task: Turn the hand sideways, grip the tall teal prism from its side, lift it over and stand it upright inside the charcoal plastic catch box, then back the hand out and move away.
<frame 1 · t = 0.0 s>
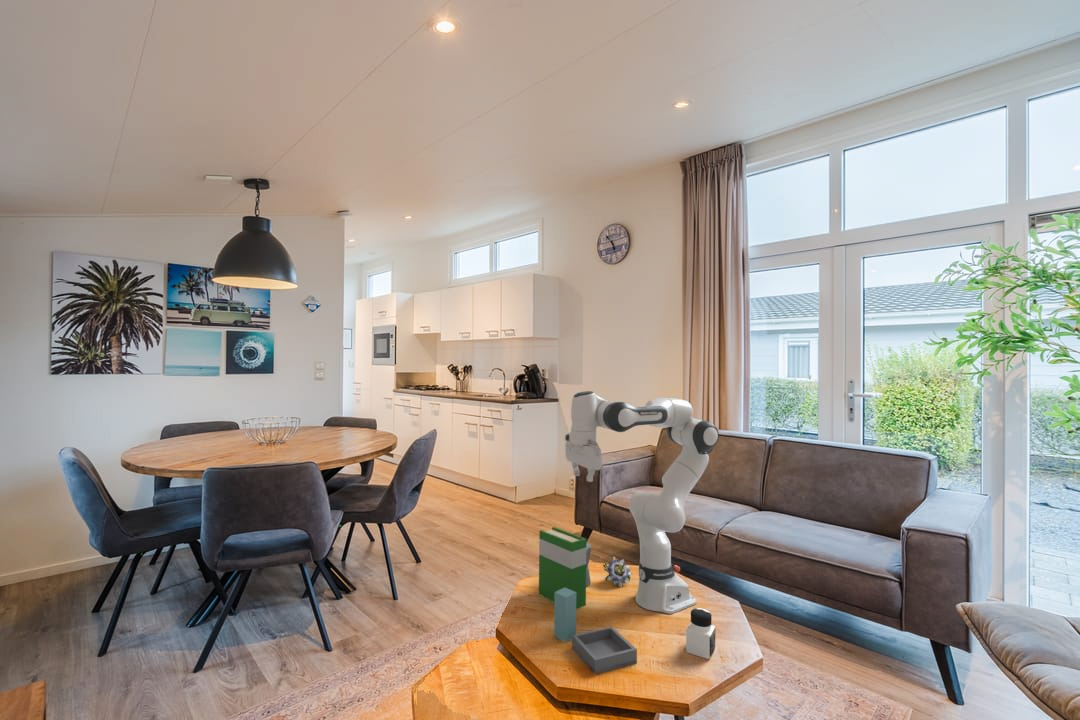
hand: (583, 478, 170), 48 cm above the table, tool pointing down, fingers open, 8 cm apart
passion flower: (616, 583, 198), on the table
catch box: (603, 655, 147), on the table
medicine bottle: (700, 651, 150), on the table
coffeepot: (578, 582, 198), on the table
hardback book: (561, 600, 183), on the table
tall teal prism: (565, 636, 158), on the table
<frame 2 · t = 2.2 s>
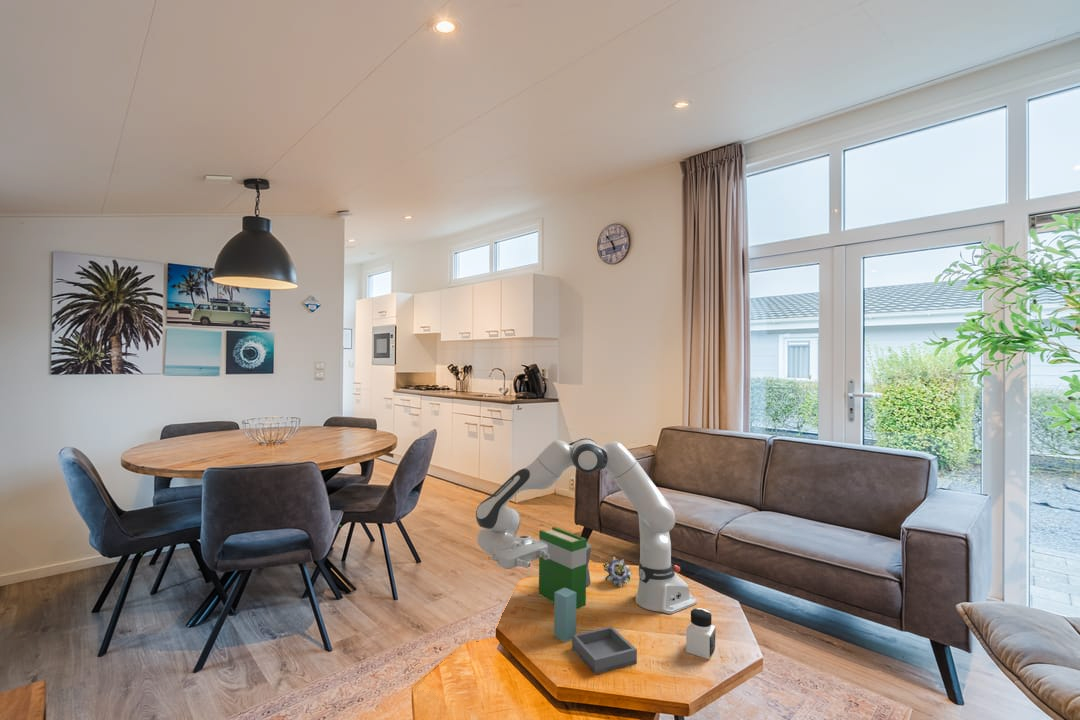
hand: (538, 561, 166), 21 cm above the table, tool horizontal, fingers open, 8 cm apart
nothing on the table moved.
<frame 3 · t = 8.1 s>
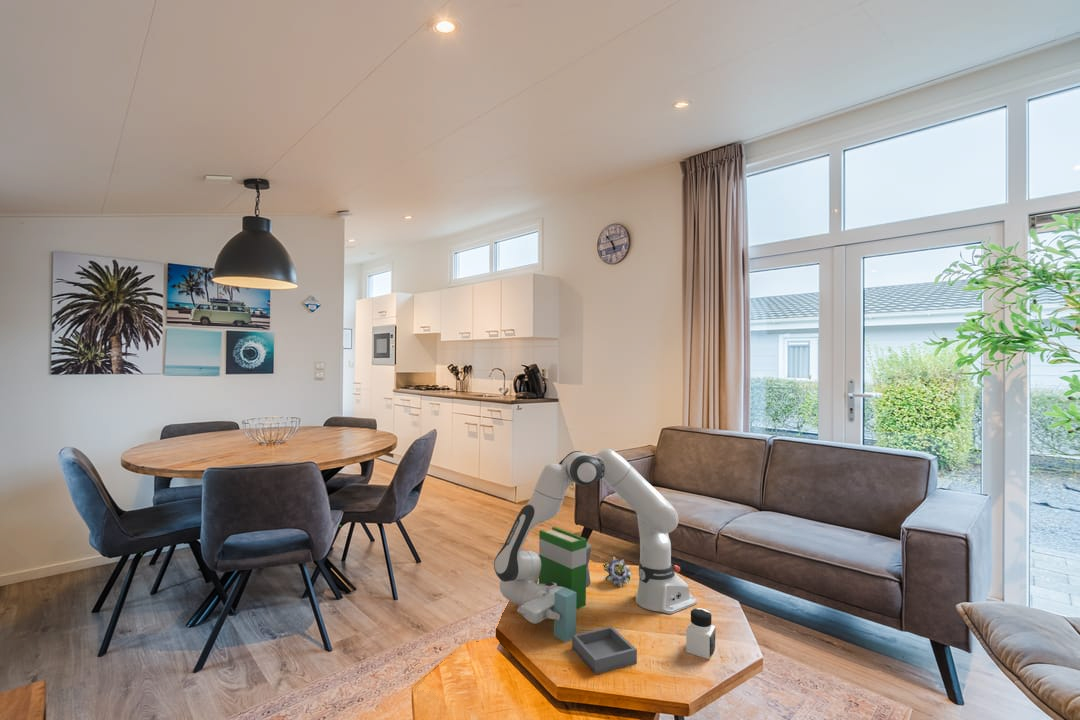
hand: (567, 613, 157), 8 cm above the table, tool horizontal, fingers closed on tall teal prism, 5 cm apart
tall teal prism: (565, 636, 158), on the table, touching gripper
everything else where it was.
when the fingers open (10 cm above the table, at t = 15.4 s): tall teal prism drops 1 cm, resting on catch box.
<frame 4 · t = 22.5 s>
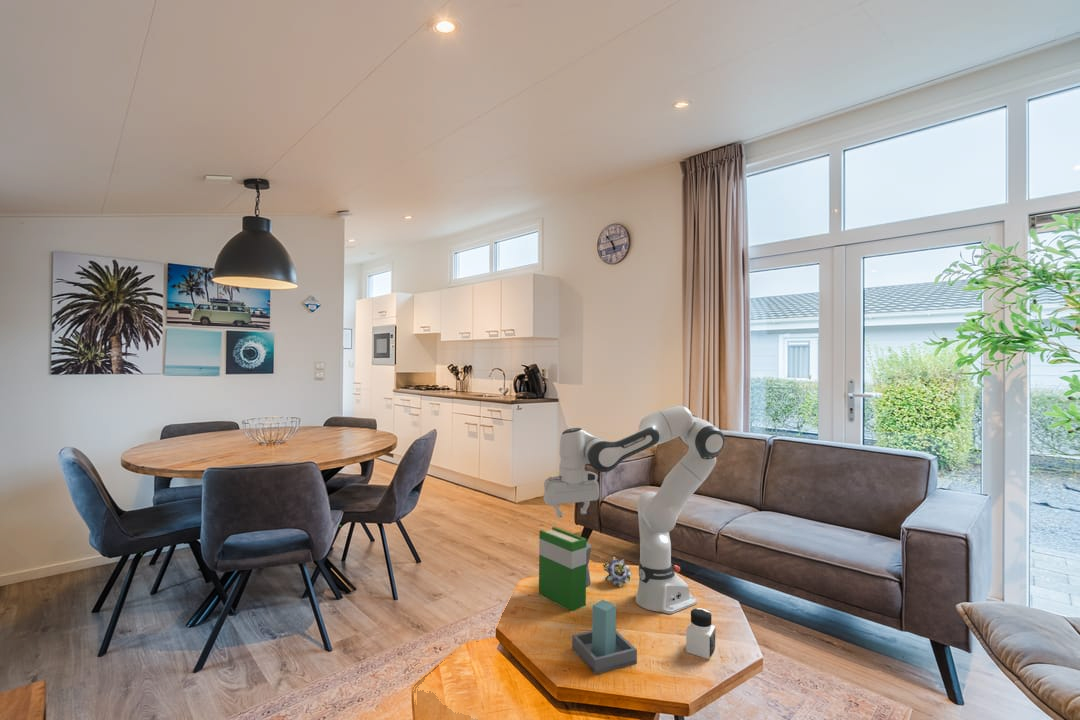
hand: (571, 515, 170), 35 cm above the table, tool pointing down, fingers open, 8 cm apart
tall teal prism: (603, 652, 147), point 1 cm above the table, touching catch box
everything else where it was.
at the end: tall teal prism inside the target area on the catch box (0.0 cm from its centre), point 1.0 cm above the catch box's base; tall teal prism tilted 0°; the gripper is holding nothing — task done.
